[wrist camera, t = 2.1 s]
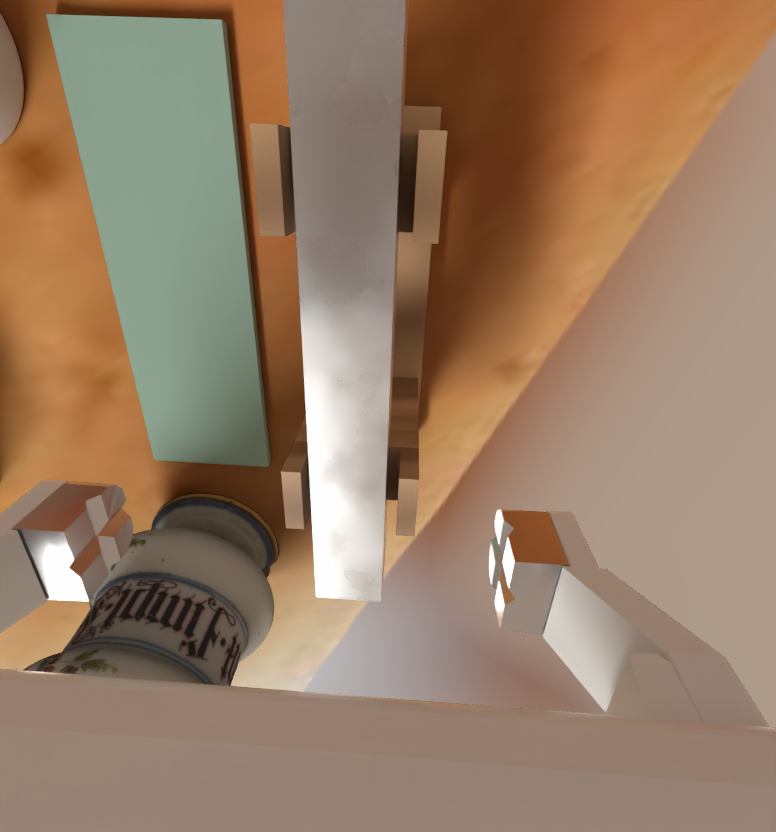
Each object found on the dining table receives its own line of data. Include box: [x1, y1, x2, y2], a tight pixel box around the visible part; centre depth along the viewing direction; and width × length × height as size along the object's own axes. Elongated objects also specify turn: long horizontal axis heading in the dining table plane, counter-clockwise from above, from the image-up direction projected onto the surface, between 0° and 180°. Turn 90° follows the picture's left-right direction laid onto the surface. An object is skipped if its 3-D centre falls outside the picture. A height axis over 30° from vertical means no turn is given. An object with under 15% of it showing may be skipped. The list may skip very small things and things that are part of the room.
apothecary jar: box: [24, 494, 278, 686], centre depth 29 cm, size 12×12×18 cm
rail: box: [283, 0, 409, 602], centre depth 18 cm, size 22×3×3 cm, turn 178°
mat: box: [46, 14, 271, 467], centre depth 27 cm, size 24×8×1 cm, turn 178°
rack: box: [250, 106, 447, 536], centre depth 22 cm, size 18×6×11 cm, turn 178°
